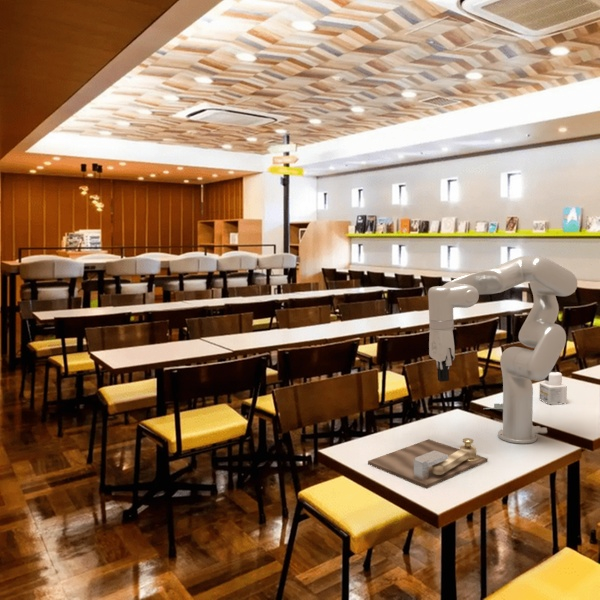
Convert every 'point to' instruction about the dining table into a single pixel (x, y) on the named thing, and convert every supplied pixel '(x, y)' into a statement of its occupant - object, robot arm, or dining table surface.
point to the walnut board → (404, 458)
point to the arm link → (454, 459)
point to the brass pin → (468, 445)
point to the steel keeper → (427, 463)
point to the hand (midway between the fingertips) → (443, 380)
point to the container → (553, 389)
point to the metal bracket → (496, 406)
